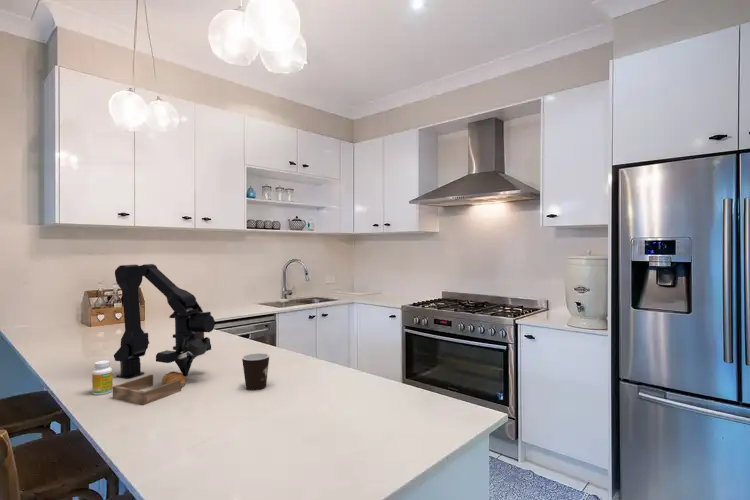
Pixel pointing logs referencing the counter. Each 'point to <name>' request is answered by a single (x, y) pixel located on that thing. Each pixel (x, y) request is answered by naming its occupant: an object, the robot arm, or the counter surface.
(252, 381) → the coffee mug
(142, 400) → the box
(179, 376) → the pastry
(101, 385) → the supplement bottle
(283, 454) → the counter surface
